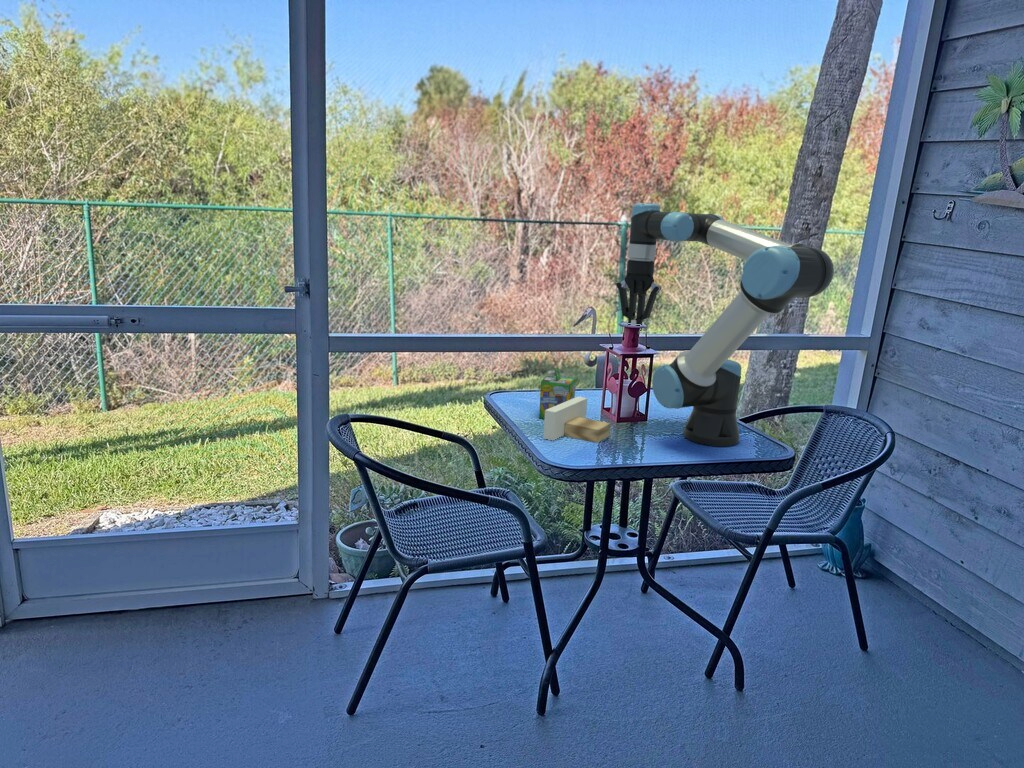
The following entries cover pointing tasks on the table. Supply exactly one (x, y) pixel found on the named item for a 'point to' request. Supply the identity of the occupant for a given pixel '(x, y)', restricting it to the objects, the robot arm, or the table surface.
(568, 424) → the oak block
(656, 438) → the table surface
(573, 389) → the chalk box
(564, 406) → the white board
